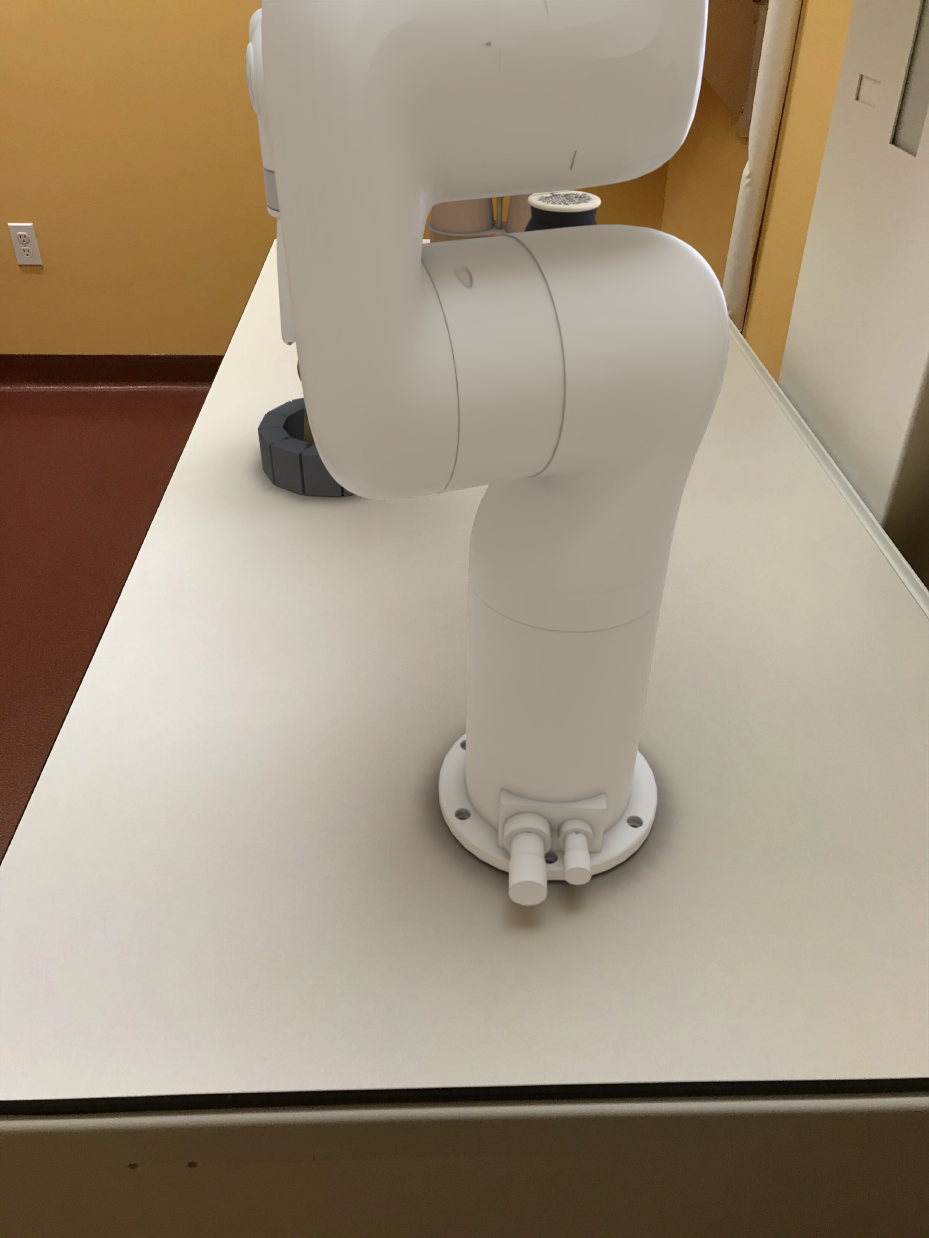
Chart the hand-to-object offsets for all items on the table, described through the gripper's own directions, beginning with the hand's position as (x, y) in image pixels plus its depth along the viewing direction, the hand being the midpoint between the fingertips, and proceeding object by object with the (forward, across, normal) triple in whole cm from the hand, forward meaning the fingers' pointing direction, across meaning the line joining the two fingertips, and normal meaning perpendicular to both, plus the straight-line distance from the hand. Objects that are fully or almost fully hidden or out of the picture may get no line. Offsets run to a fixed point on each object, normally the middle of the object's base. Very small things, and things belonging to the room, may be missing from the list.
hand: (330, 404), depth 86 cm
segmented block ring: (+6, 0, 0) cm, 6 cm away
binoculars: (+6, -59, +14) cm, 61 cm away
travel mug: (+6, -25, +21) cm, 33 cm away
